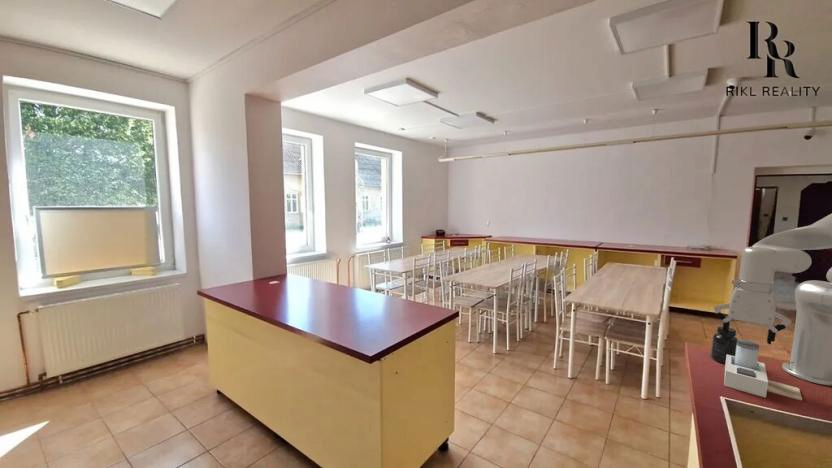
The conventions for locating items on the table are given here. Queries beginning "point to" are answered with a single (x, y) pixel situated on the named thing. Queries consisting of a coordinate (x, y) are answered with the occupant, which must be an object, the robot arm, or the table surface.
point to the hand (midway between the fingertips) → (746, 337)
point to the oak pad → (784, 390)
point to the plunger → (745, 372)
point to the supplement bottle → (723, 344)
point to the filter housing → (746, 378)
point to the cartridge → (746, 354)
